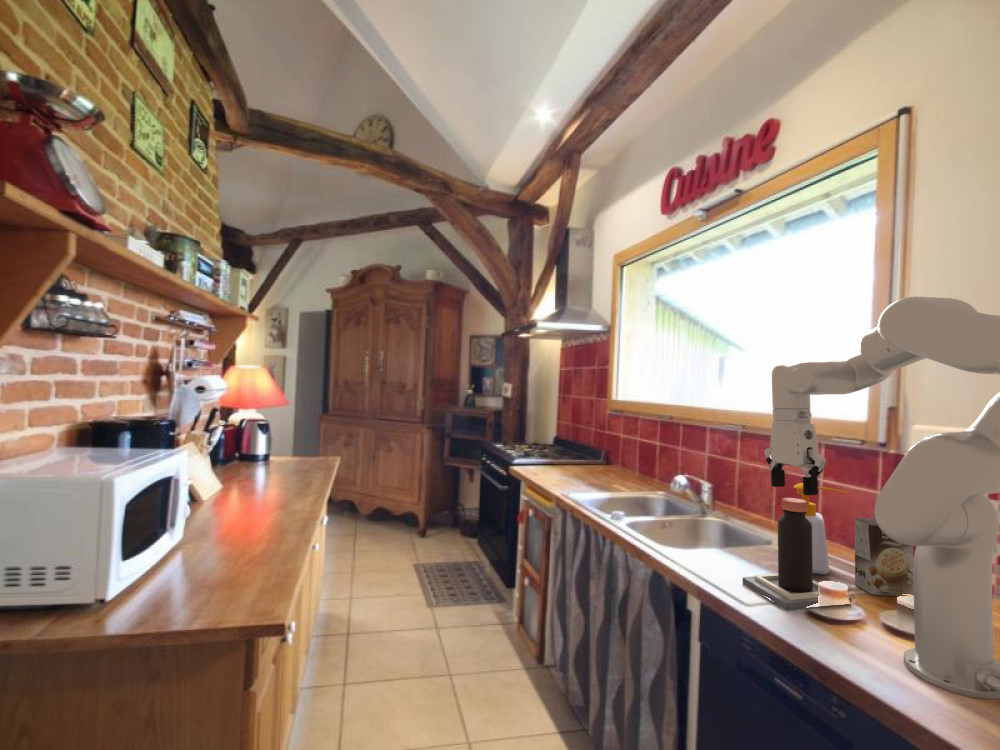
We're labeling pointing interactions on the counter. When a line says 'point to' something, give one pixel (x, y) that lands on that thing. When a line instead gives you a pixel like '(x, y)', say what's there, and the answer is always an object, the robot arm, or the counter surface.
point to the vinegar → (795, 547)
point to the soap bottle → (817, 533)
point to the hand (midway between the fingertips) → (793, 490)
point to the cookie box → (881, 561)
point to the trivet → (782, 592)
